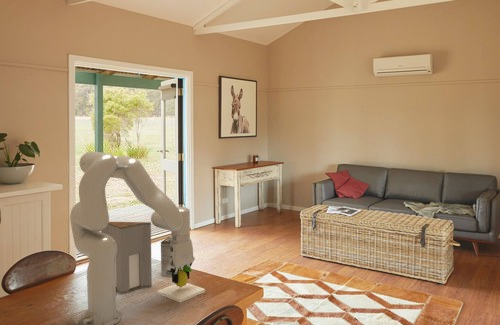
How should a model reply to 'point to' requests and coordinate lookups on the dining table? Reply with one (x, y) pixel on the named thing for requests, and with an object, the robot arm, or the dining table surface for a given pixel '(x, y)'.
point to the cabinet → (131, 254)
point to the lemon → (182, 276)
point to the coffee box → (165, 257)
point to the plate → (180, 292)
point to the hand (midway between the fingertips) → (180, 279)
